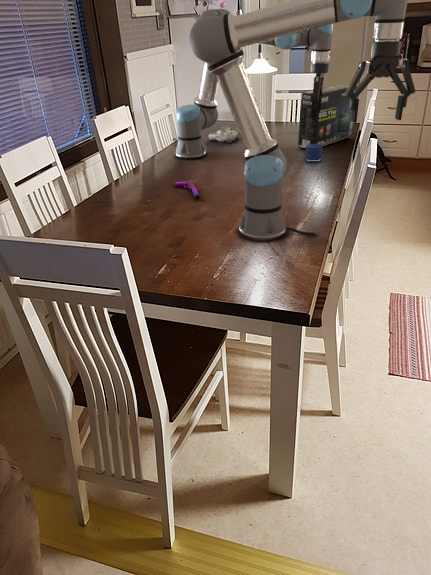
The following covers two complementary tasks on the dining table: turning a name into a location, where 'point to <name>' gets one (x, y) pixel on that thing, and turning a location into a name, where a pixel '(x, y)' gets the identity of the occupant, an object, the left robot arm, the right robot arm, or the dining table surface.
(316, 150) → the cylinder
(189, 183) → the handgun
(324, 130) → the router box
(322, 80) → the left robot arm
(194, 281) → the dining table surface
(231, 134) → the fossil
